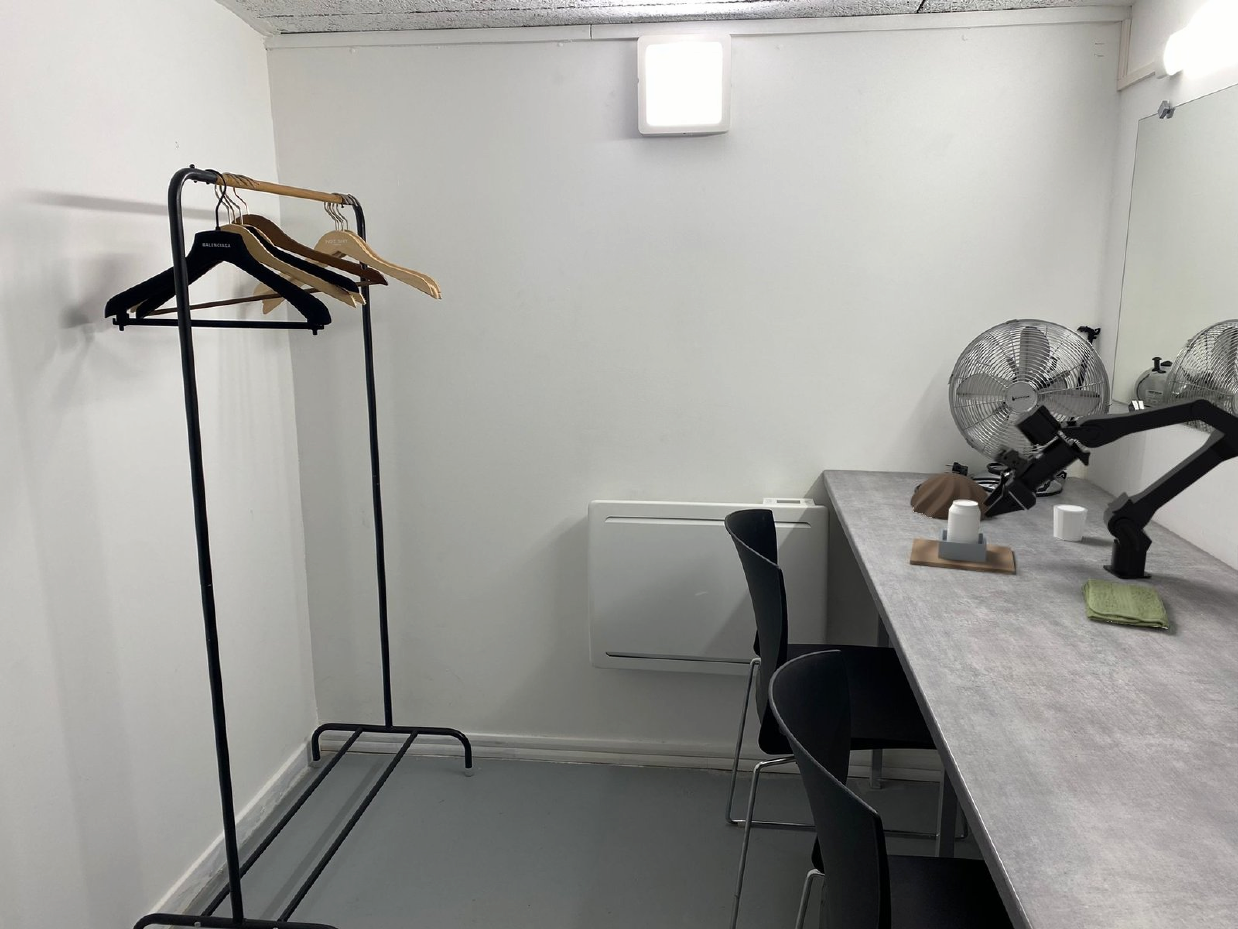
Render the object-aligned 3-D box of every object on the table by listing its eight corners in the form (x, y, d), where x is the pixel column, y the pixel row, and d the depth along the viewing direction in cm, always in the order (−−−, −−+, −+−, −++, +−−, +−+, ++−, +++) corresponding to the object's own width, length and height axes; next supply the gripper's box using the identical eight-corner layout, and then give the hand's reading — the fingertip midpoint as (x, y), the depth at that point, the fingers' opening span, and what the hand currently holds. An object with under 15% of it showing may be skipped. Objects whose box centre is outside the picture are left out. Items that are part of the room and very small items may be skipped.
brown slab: (1010, 550, 193) (1011, 547, 192) (1014, 574, 178) (1014, 570, 178) (913, 541, 200) (914, 538, 199) (909, 563, 185) (909, 560, 185)
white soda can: (969, 552, 192) (973, 498, 189) (981, 561, 186) (986, 506, 183) (941, 553, 192) (945, 499, 189) (952, 562, 186) (956, 506, 183)
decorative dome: (912, 519, 218) (914, 479, 216) (908, 499, 236) (911, 462, 234) (996, 524, 213) (1000, 484, 211) (986, 503, 231) (989, 466, 229)
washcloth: (1084, 624, 155) (1086, 606, 154) (1080, 590, 170) (1082, 574, 170) (1172, 636, 149) (1174, 617, 148) (1159, 600, 165) (1161, 584, 164)
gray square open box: (984, 553, 191) (985, 532, 190) (985, 566, 183) (986, 545, 182) (938, 548, 195) (940, 528, 194) (937, 561, 186) (939, 540, 185)
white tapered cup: (1077, 533, 204) (1080, 504, 203) (1089, 542, 198) (1093, 512, 196) (1046, 532, 205) (1049, 503, 204) (1057, 541, 198) (1060, 511, 197)
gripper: (1018, 425, 188) (958, 471, 194) (1023, 441, 171) (957, 491, 177) (1055, 464, 187) (994, 509, 193) (1064, 484, 170) (996, 533, 176)
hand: (985, 510), depth 185 cm, fingers open, 9 cm apart
